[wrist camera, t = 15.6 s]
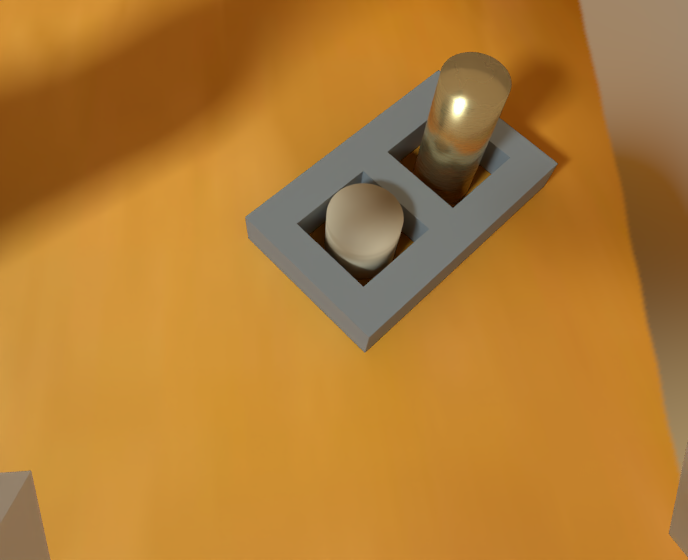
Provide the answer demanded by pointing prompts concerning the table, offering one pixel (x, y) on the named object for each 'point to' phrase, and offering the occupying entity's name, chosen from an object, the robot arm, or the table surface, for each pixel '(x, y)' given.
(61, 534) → the table surface
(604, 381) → the table surface
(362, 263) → the wooden plug
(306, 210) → the jig plate
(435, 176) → the brass cylinder
